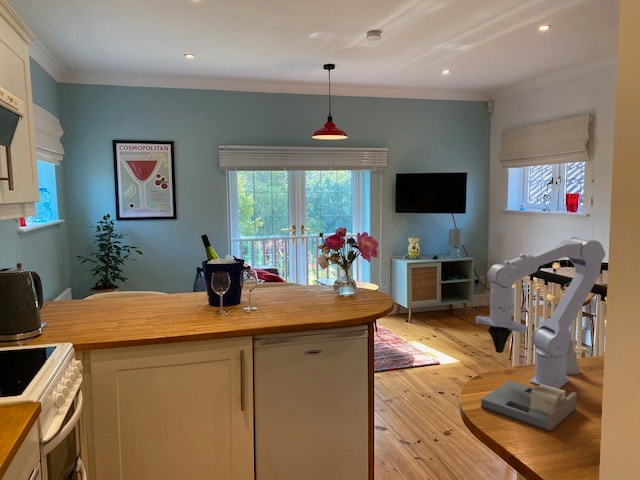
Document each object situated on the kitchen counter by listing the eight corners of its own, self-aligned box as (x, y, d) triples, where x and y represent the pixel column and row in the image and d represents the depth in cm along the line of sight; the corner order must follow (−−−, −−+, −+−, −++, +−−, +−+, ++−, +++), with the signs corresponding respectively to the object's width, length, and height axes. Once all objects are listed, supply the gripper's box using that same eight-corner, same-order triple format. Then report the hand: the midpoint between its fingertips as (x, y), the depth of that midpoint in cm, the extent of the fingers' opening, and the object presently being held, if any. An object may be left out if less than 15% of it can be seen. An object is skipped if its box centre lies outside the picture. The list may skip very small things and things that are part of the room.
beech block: (540, 398, 126) (541, 383, 126) (564, 405, 122) (565, 390, 121) (530, 405, 122) (531, 391, 122) (554, 413, 118) (555, 398, 117)
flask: (583, 376, 145) (584, 344, 144) (557, 374, 147) (558, 343, 146) (576, 367, 152) (578, 336, 151) (552, 365, 154) (553, 335, 153)
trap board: (509, 389, 138) (509, 374, 137) (576, 409, 125) (576, 393, 124) (481, 407, 127) (481, 391, 127) (550, 432, 114) (550, 414, 113)
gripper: (470, 304, 140) (469, 349, 142) (519, 313, 129) (517, 362, 131) (482, 300, 145) (482, 343, 146) (530, 308, 134) (529, 355, 135)
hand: (499, 351), depth 139 cm, fingers closed
